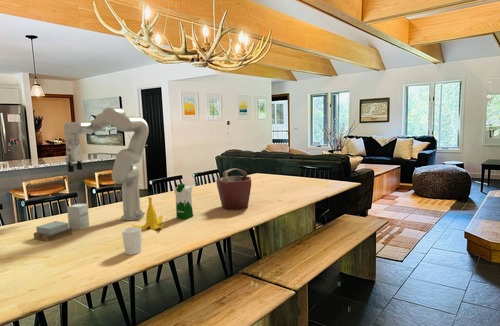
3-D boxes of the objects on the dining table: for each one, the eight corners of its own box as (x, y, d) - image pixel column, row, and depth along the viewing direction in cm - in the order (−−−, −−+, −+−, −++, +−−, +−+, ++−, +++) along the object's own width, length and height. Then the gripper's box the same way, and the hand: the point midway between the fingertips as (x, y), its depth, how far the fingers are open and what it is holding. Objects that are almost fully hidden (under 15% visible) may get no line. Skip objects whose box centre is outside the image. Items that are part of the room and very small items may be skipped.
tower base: (72, 234, 173) (71, 228, 172) (50, 241, 162) (49, 235, 162) (56, 231, 178) (56, 226, 177) (34, 238, 167) (33, 233, 166)
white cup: (126, 249, 149) (125, 227, 148) (144, 248, 150) (143, 226, 149) (121, 256, 141) (119, 233, 140) (140, 254, 142) (138, 232, 141)
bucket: (230, 213, 202) (228, 172, 199) (209, 207, 219) (207, 169, 216) (260, 206, 218) (259, 168, 215) (238, 200, 235) (237, 165, 232)
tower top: (68, 228, 172) (68, 223, 171) (50, 234, 163) (49, 228, 162) (55, 226, 176) (55, 221, 176) (36, 232, 167) (36, 226, 167)
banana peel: (162, 221, 191) (160, 192, 189) (164, 231, 173) (162, 199, 171) (132, 224, 187) (129, 195, 185) (130, 235, 169) (127, 202, 167)
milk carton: (174, 218, 195) (172, 184, 193) (183, 214, 203) (181, 182, 201) (186, 220, 192) (184, 185, 189) (195, 215, 200) (193, 182, 197)
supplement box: (80, 230, 179) (78, 207, 177) (68, 229, 180) (66, 206, 179) (90, 225, 186) (87, 203, 185) (78, 225, 188) (76, 203, 186)
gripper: (70, 143, 194) (74, 172, 197) (85, 141, 212) (88, 168, 214) (58, 144, 195) (61, 173, 197) (74, 142, 212) (76, 169, 214)
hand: (75, 170), depth 205 cm, fingers open, 9 cm apart
